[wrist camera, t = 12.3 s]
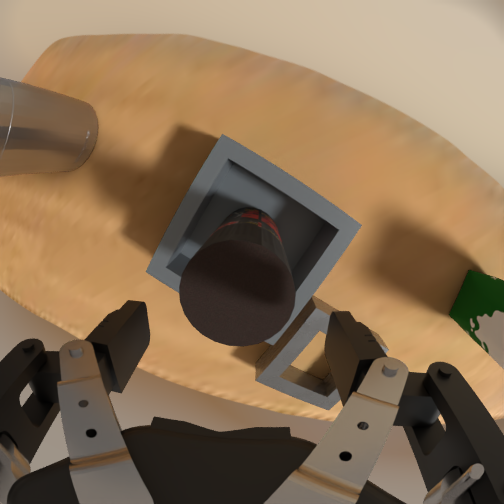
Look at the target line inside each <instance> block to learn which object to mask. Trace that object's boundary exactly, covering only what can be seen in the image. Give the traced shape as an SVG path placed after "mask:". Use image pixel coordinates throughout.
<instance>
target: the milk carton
mask: <svg viewBox="0 0 504 504" xmlns="http://www.w3.org/2000/svg"><path fill="white" fill-rule="evenodd" d="M449 316H451V317H452V318H453V319H454V320H455V321H456V322H457V323H458V325H459V326H460V327H461V328H462V329H463V330H464V331H465V332H466V333H467V334H468V335H469V336H470V337H471V338H472V339H473V340H474V341H475V342H477V343H478V344H479V345H480V346H481V347H482V348H483V349H484V350H485V351H486V352H487V353H488V354H489V355H490V356H491V357H492V358H493V359H494V360H495V361H496V362H497V363H498V364H499V365H500V366H501V367H502V368H503V369H504V281H503V280H501V279H499V278H496V277H493V276H489V275H486V274H482V273H479V272H475V271H472V270H469V271H468V273H467V276H466V278H465V281H464V283H463V285H462V288H461V290H460V292H459V294H458V297H457V299H456V301H455V303H454V305H453V307H452V309H451V311H450V313H449Z"/></svg>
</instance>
